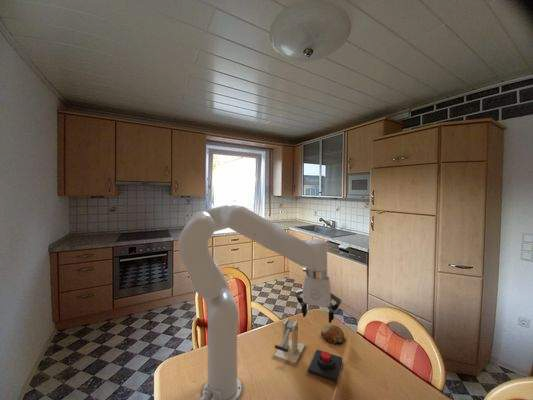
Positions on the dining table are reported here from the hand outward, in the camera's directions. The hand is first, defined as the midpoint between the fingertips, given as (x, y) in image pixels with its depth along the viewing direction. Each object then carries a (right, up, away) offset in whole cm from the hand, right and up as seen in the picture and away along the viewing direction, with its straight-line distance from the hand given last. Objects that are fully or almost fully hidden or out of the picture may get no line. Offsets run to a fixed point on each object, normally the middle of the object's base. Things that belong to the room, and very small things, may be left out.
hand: (317, 318), depth 86 cm
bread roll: (+11, -19, +17) cm, 28 cm away
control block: (+3, -19, 0) cm, 19 cm away
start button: (+3, -15, 0) cm, 16 cm away
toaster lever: (-11, -11, +5) cm, 16 cm away
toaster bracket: (-9, -19, +9) cm, 23 cm away
